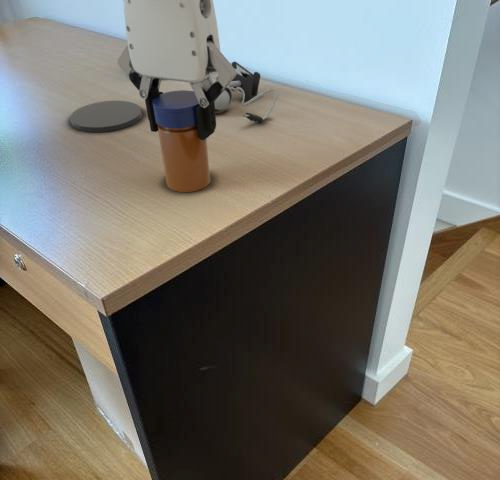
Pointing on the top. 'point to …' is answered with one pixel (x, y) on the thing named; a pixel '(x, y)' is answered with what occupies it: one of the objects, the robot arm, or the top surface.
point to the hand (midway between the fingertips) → (182, 130)
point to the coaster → (106, 116)
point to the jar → (184, 158)
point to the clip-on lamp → (247, 86)
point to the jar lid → (175, 109)
